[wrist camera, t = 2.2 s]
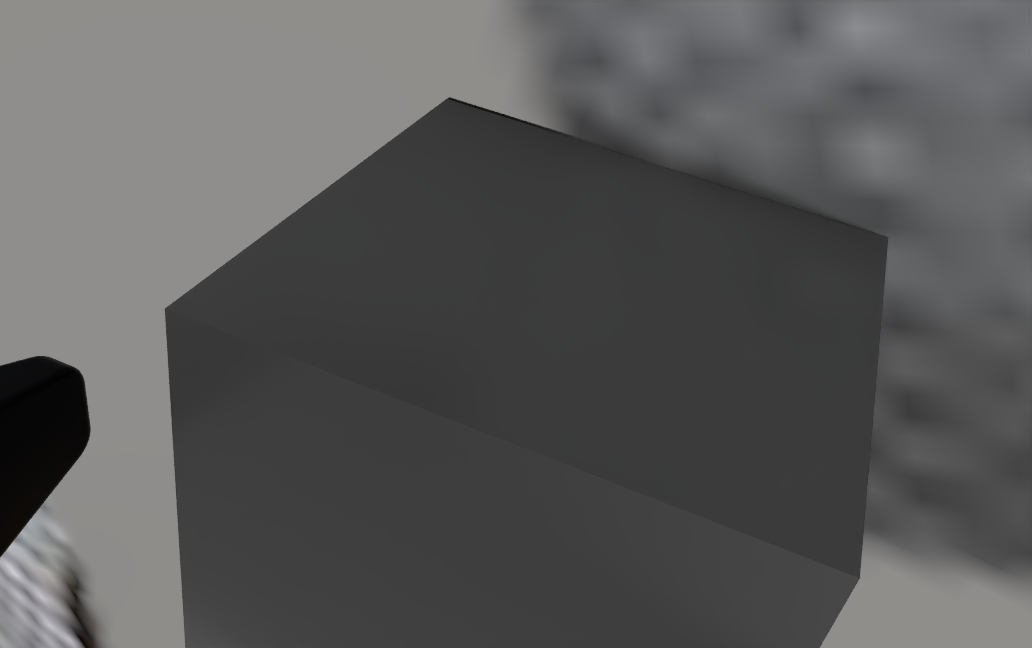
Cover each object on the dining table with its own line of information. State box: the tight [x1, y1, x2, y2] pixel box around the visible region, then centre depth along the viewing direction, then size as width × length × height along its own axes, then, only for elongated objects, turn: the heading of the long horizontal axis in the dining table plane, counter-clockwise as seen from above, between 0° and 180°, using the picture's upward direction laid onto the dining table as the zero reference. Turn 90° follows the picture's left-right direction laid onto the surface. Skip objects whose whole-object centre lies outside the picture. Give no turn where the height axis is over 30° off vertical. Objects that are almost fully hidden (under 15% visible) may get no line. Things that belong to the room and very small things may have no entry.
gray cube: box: [165, 97, 888, 648], centre depth 10 cm, size 5×5×5 cm
